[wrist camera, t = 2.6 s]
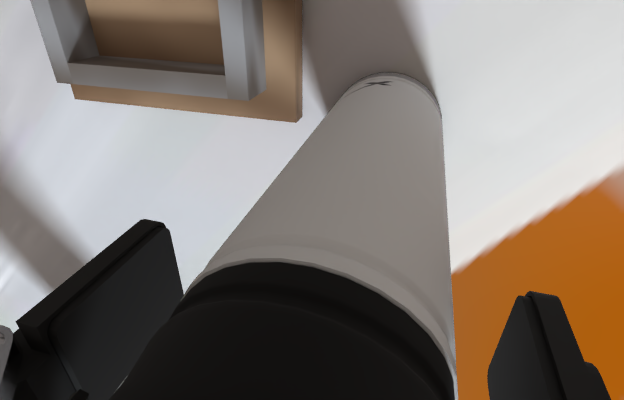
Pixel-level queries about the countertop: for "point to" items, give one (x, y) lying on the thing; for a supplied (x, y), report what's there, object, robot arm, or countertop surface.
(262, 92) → the frame
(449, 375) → the travel mug
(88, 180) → the countertop surface
